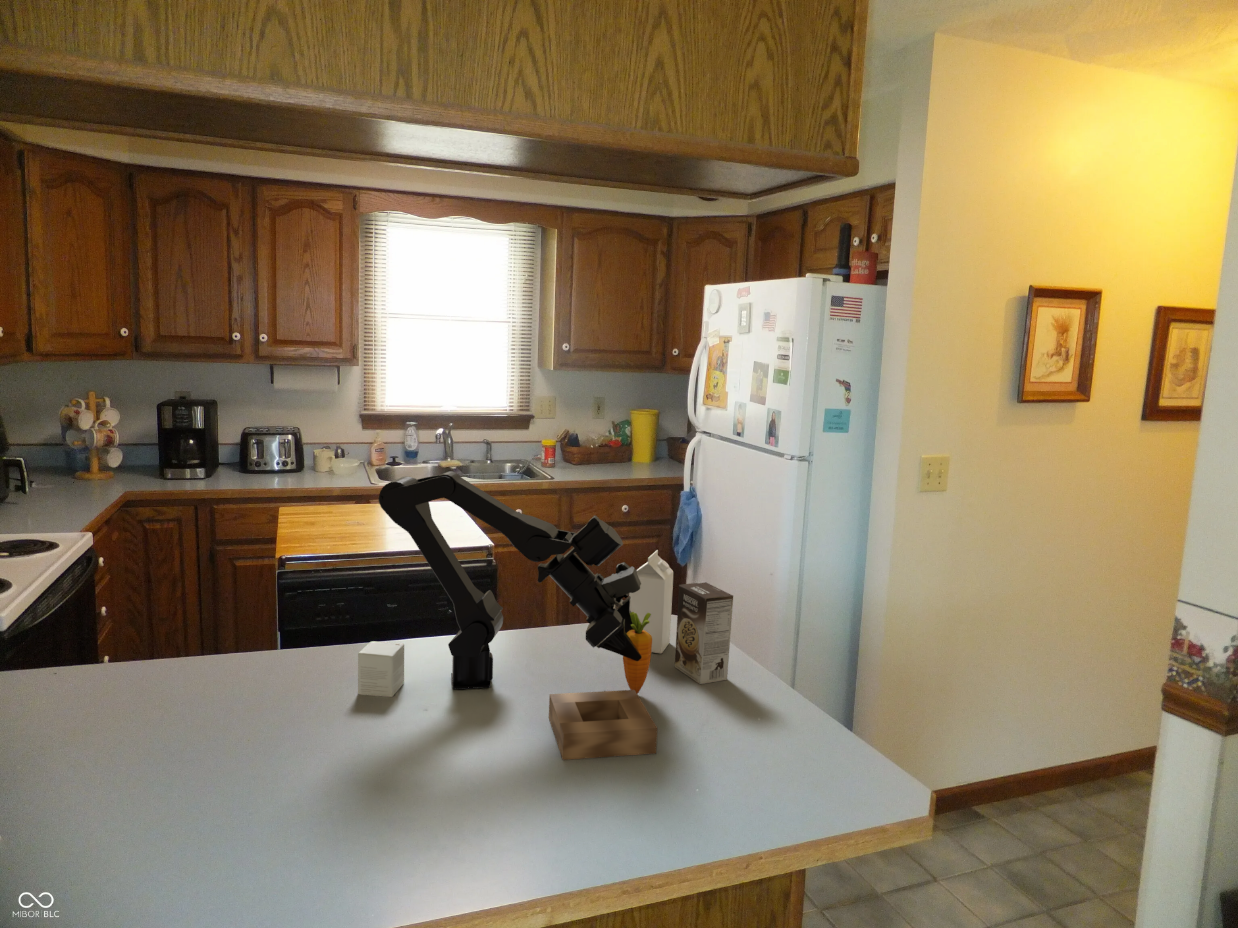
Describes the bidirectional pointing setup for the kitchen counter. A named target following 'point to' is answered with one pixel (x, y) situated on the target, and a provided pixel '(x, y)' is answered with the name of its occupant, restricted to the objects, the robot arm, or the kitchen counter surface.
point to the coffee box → (703, 632)
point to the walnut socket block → (601, 724)
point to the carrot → (643, 643)
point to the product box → (380, 669)
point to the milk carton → (654, 600)
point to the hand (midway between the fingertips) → (641, 649)
